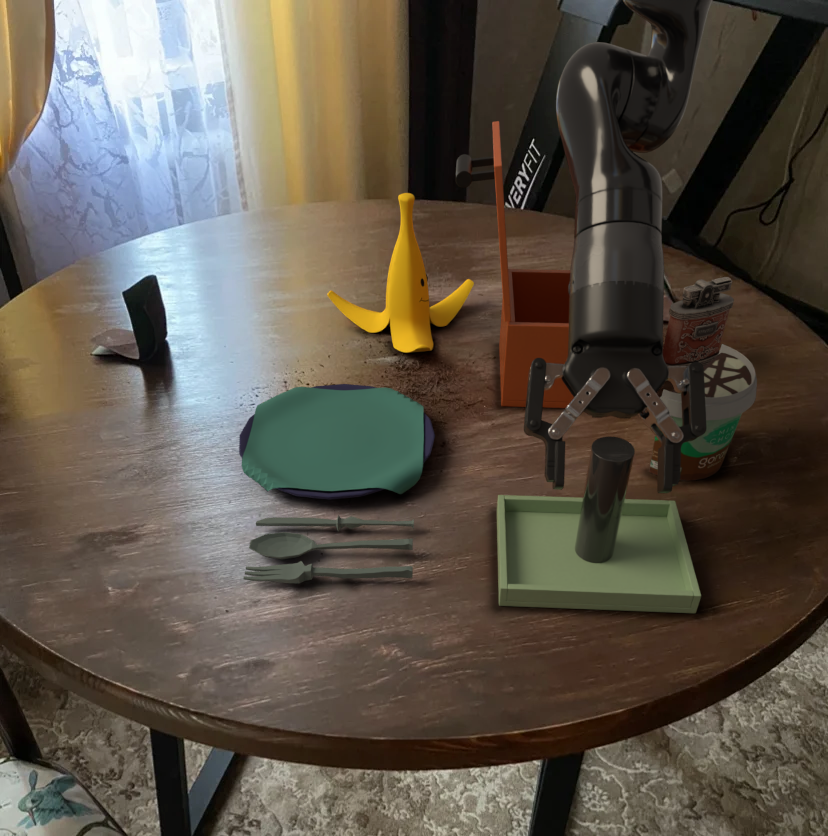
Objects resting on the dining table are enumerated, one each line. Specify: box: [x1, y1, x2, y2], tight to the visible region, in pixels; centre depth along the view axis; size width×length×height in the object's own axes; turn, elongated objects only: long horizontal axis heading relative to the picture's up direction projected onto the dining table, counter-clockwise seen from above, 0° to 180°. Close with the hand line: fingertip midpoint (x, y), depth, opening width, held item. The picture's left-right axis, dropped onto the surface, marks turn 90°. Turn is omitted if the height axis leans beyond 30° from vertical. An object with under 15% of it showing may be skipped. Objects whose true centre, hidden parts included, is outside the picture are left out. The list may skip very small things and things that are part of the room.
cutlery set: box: [238, 383, 436, 584], centre depth 82 cm, size 20×30×2 cm, turn 179°
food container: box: [648, 343, 758, 482], centre depth 81 cm, size 12×6×10 cm, turn 137°
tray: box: [496, 494, 702, 614], centre depth 73 cm, size 16×12×2 cm
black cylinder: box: [575, 435, 636, 563], centre depth 70 cm, size 3×3×11 cm
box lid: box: [455, 120, 511, 322], centre depth 86 cm, size 15×14×4 cm
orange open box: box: [498, 268, 574, 409], centre depth 94 cm, size 15×14×10 cm
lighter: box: [663, 276, 735, 367], centre depth 96 cm, size 8×3×10 cm, turn 114°
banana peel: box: [326, 192, 475, 354], centre depth 101 cm, size 16×19×17 cm
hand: (611, 490), depth 68 cm, fingers open, 8 cm apart
